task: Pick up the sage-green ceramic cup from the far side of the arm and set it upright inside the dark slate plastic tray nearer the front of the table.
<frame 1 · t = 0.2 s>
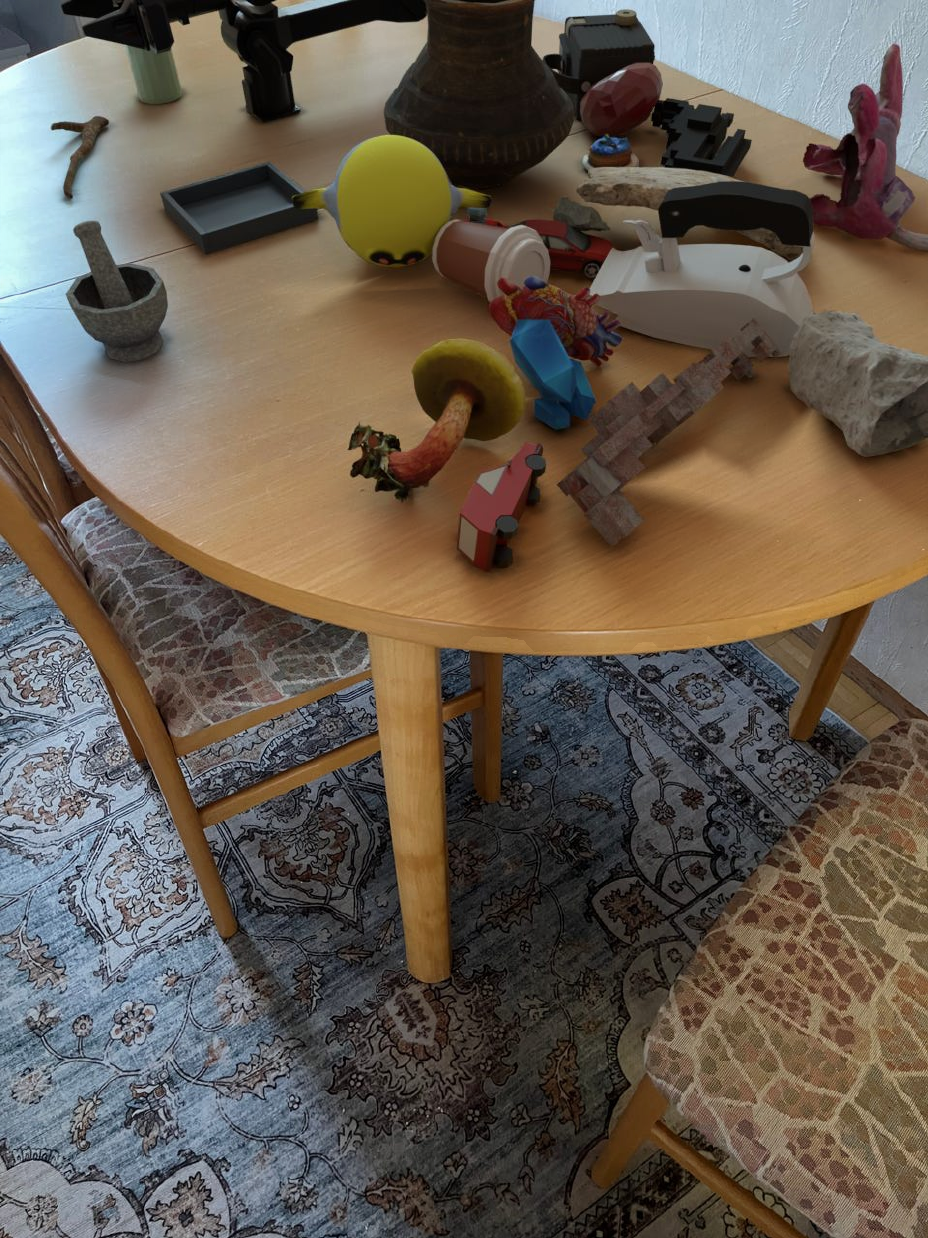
hand: (72, 19, 118), 17 cm above the table, tool horizontal, fingers open, 9 cm apart
stone: (559, 202, 107), point 6 cm above the table, touching stone fragment, toy car
coffee cup: (451, 248, 105), point 3 cm above the table
stone fragment: (678, 184, 116), point 3 cm above the table, touching stone
toy 2: (387, 234, 113), point 1 cm above the table
mortar and pestle: (132, 343, 100), on the table
tray: (241, 215, 118), on the table
button: (476, 200, 109), point 5 cm above the table
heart: (617, 118, 125), point 4 cm above the table
tool: (687, 163, 126), on the table
anatomical model: (505, 269, 86), point 11 cm above the table, touching crystal
toy car: (551, 269, 108), on the table, touching stone
sculpture: (753, 347, 92), point 3 cm above the table
toy: (818, 133, 109), point 9 cm above the table
mushroom: (420, 483, 77), point 5 cm above the table
cup: (160, 95, 144), on the table
dessert: (614, 182, 125), on the table
seashell: (411, 202, 111), point 4 cm above the table, touching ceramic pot
branch: (89, 160, 130), on the table
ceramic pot: (478, 176, 124), on the table, touching seashell
camera: (643, 59, 136), point 5 cm above the table
toy truck: (532, 512, 78), point 2 cm above the table
iron: (702, 321, 101), on the table
crystal: (580, 420, 86), point 2 cm above the table, touching anatomical model
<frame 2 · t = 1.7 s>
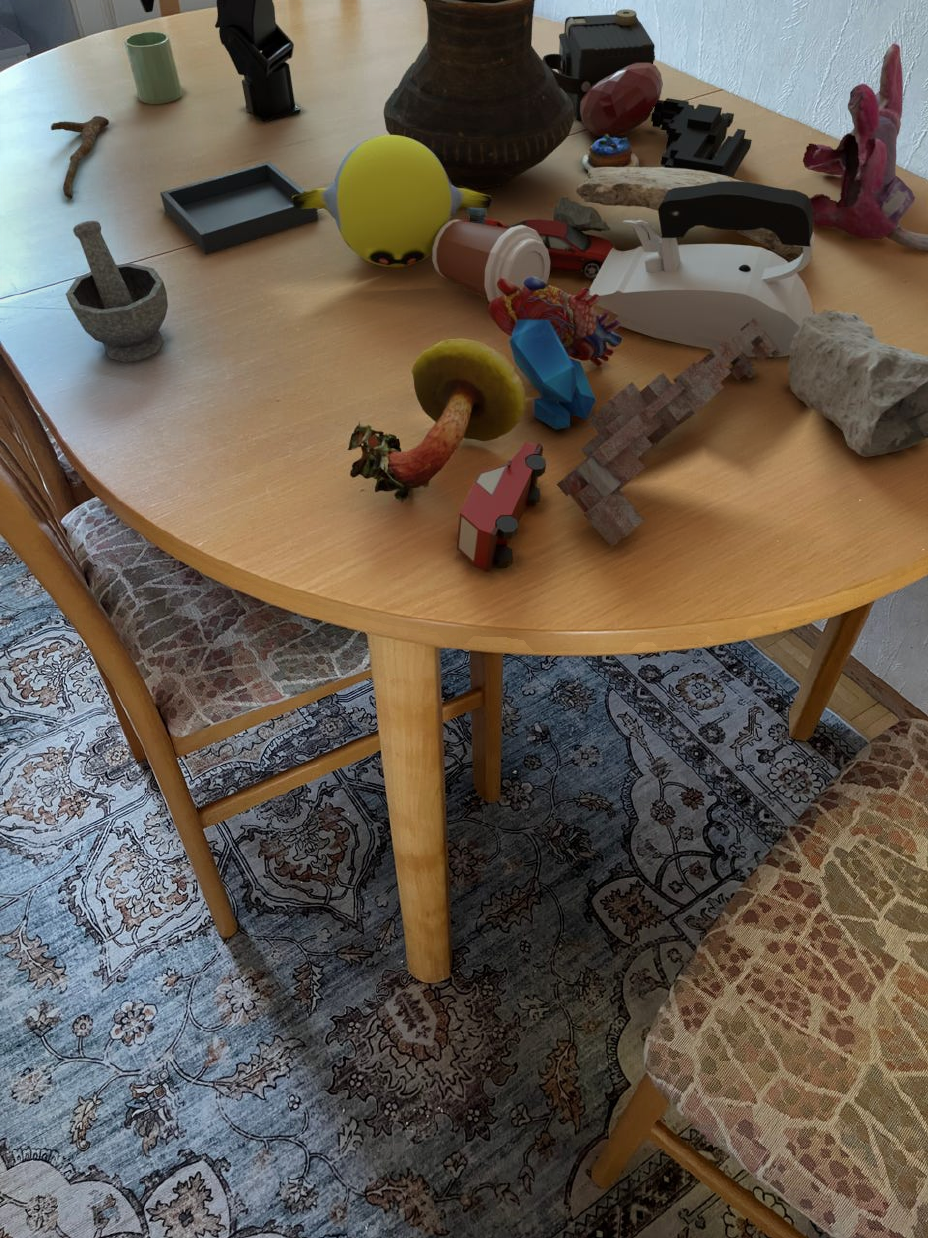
hand: (137, 3, 134), 13 cm above the table, tool pointing down, fingers open, 9 cm apart
nothing on the table moved.
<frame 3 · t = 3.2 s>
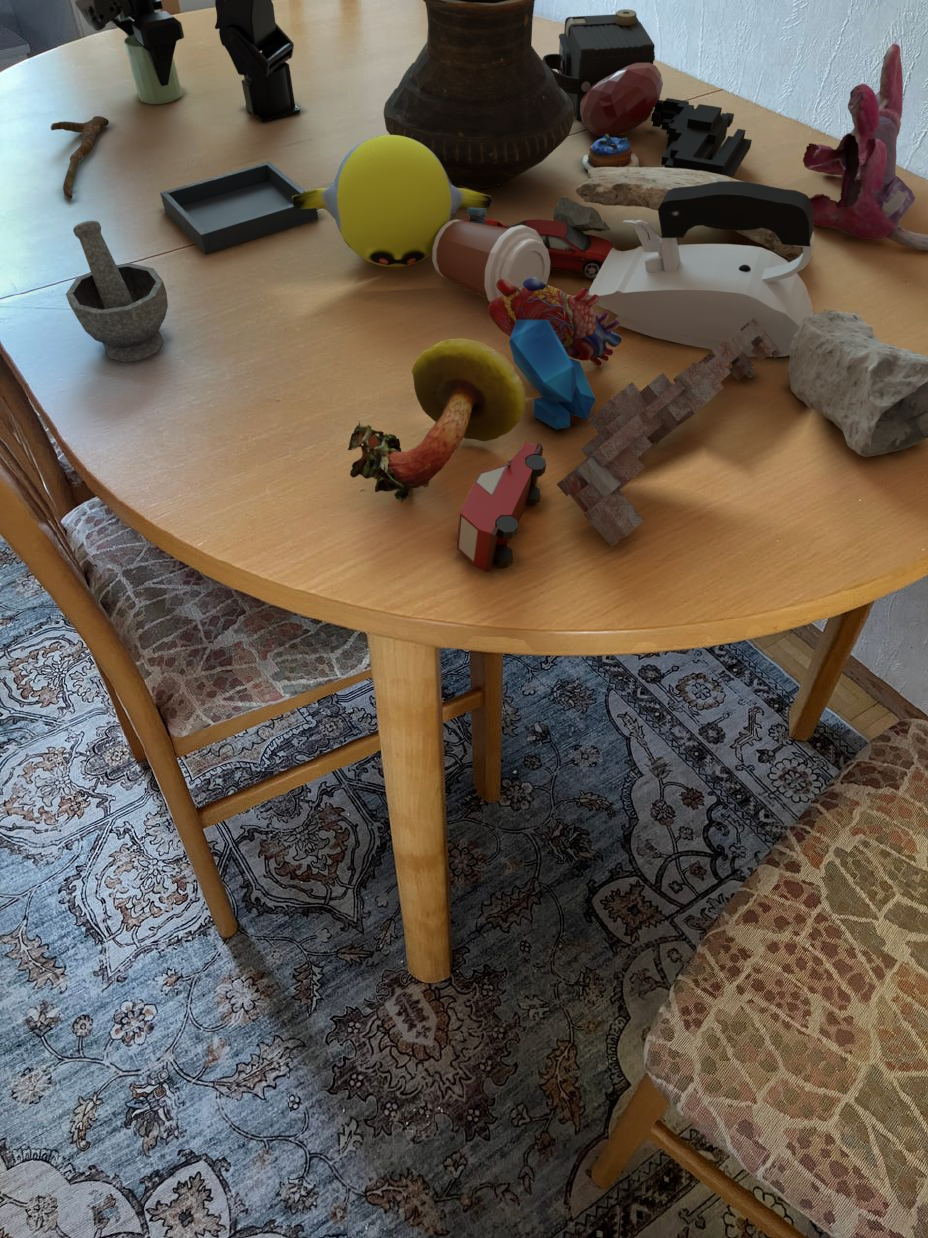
hand: (156, 78, 142), 3 cm above the table, tool pointing down, fingers closed on cup, 6 cm apart
cup: (160, 95, 144), on the table, touching gripper
everything else where it was.
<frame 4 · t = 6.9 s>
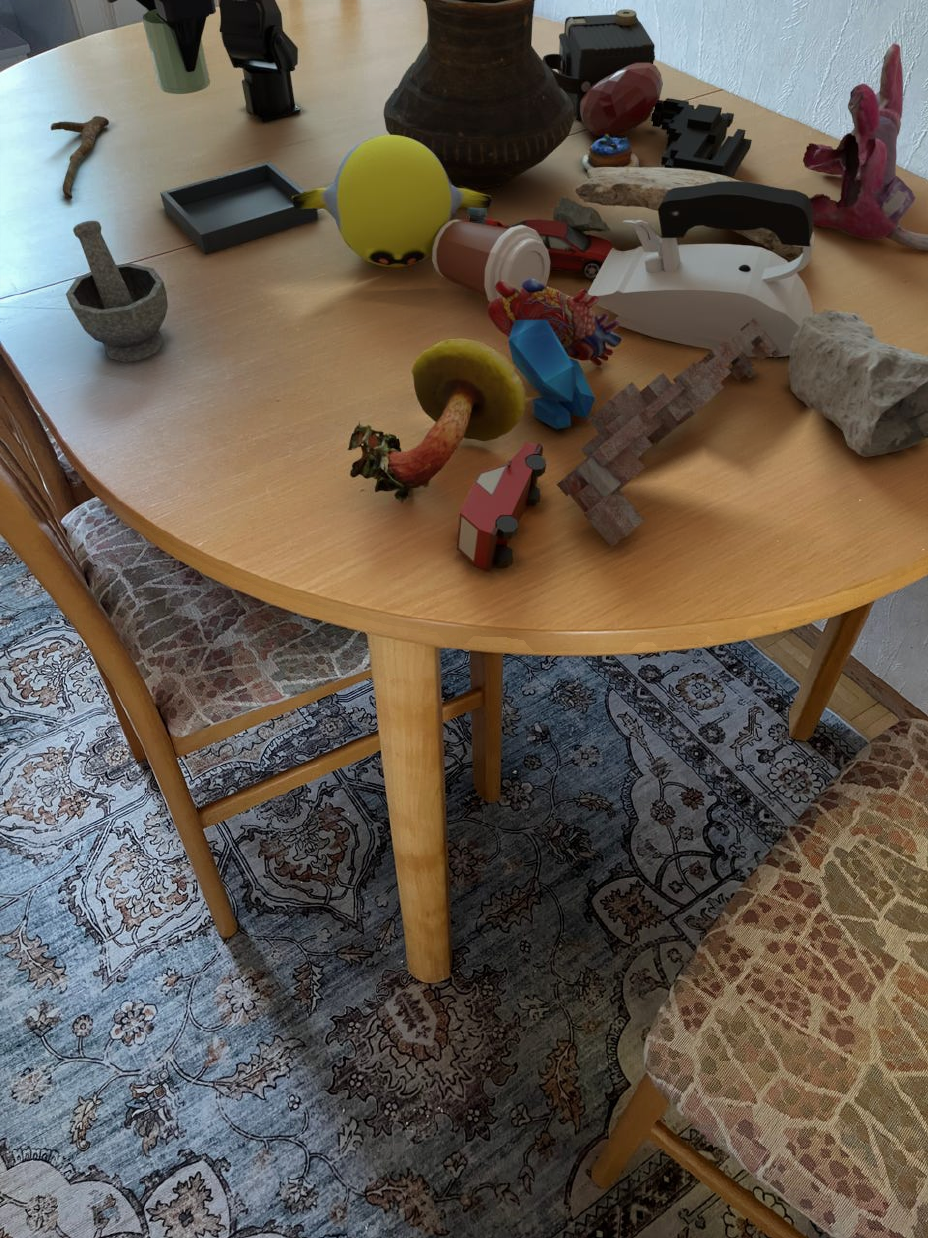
hand: (181, 62, 118), 13 cm above the table, tool pointing down, fingers closed on cup, 6 cm apart
stone: (560, 202, 107), point 6 cm above the table, touching stone fragment, toy car
cup: (185, 84, 120), point 10 cm above the table, touching gripper
everything else where it was.
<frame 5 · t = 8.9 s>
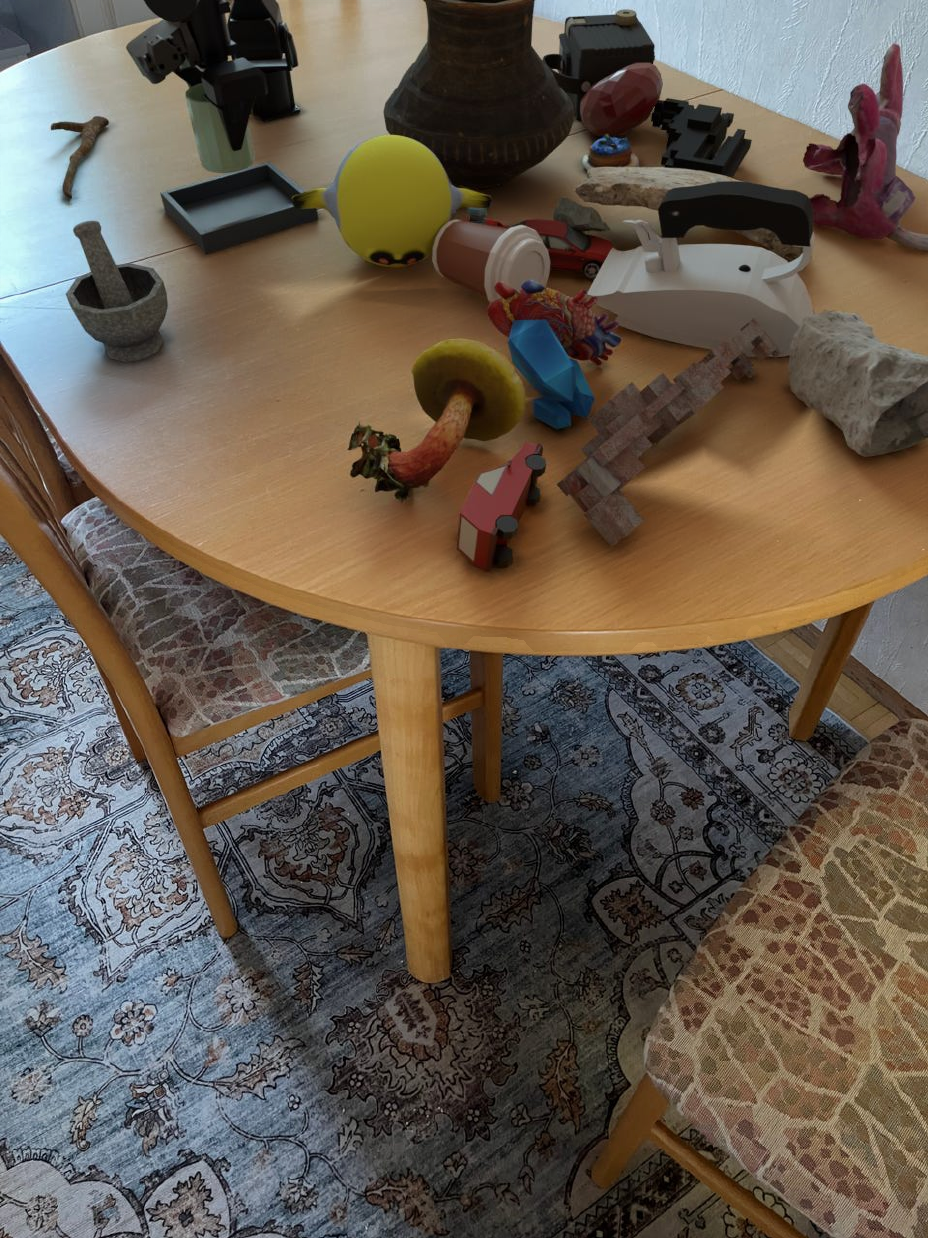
hand: (225, 139, 111), 9 cm above the table, tool pointing down, fingers closed on cup, 6 cm apart
stone: (560, 202, 107), point 6 cm above the table, touching stone fragment, toy car
cup: (228, 161, 113), point 7 cm above the table, touching gripper
everything else where it was.
when the fingers open (3 cm above the table, at t = 10.9 s): cup stays where it is, resting on tray.
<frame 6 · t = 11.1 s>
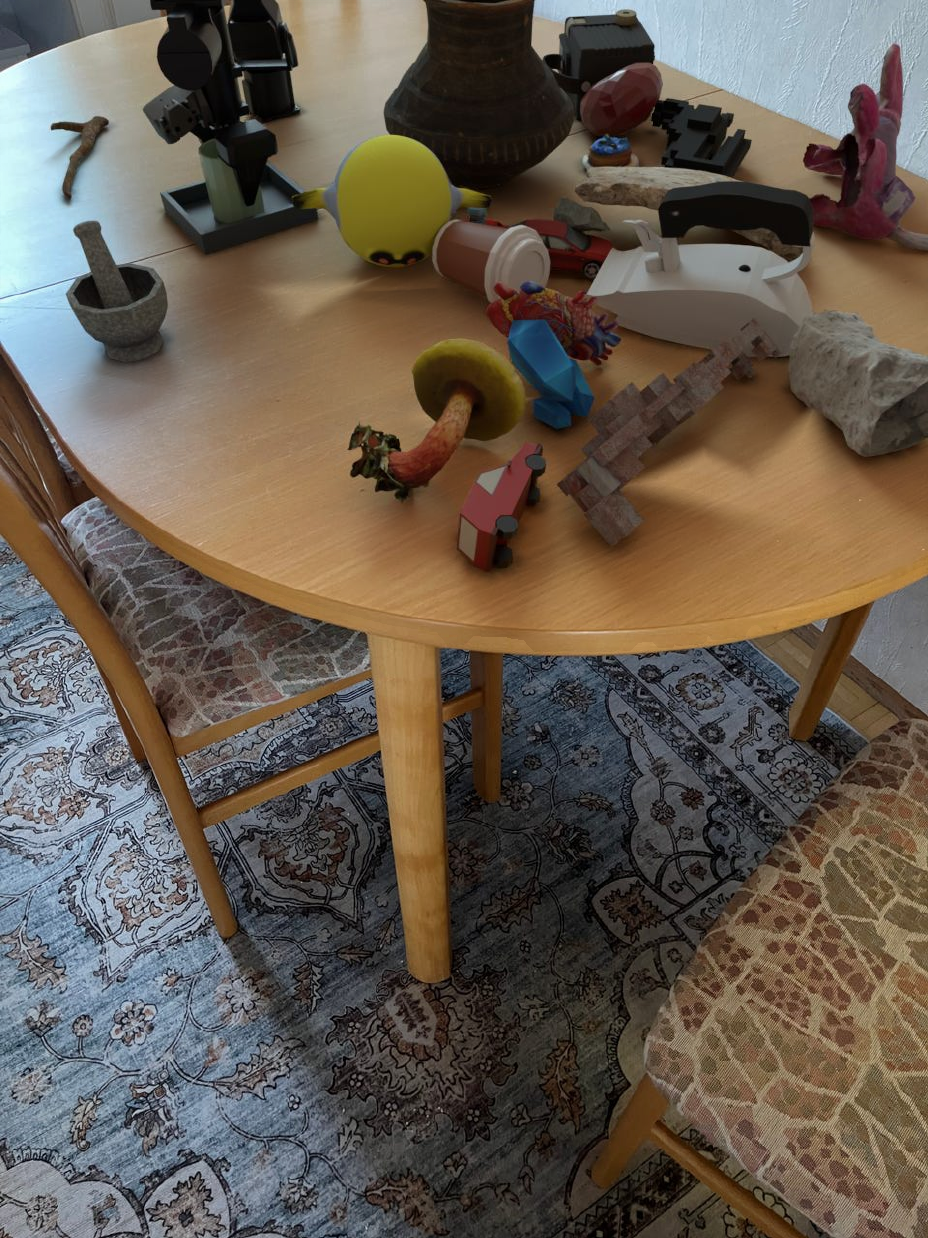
hand: (236, 192, 116), 3 cm above the table, tool pointing down, fingers open, 8 cm apart
cup: (239, 211, 118), resting on tray
everything else where it was.
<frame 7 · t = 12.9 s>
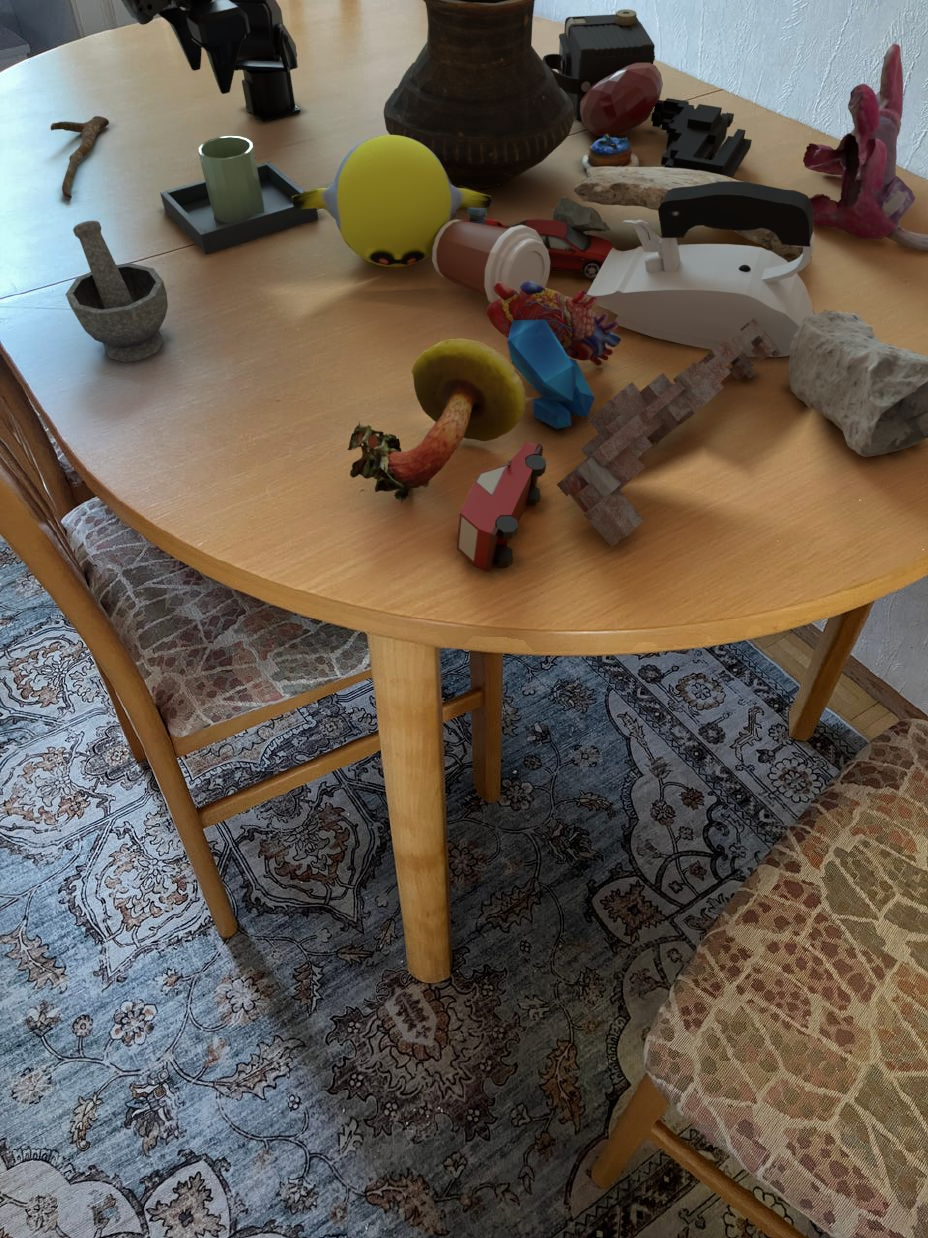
hand: (210, 80, 117), 12 cm above the table, tool pointing down, fingers open, 9 cm apart
nothing on the table moved.
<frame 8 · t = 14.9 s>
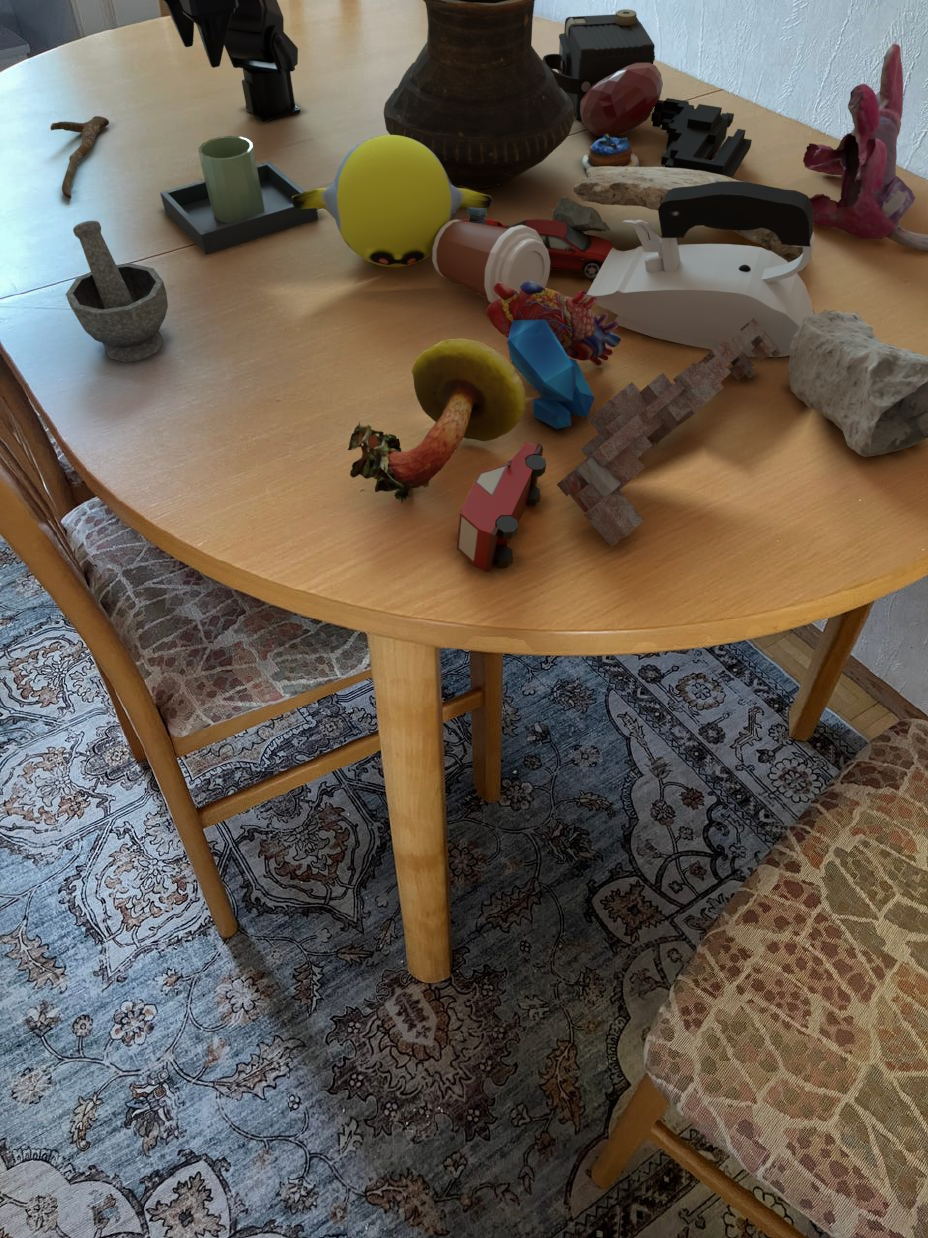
hand: (201, 56, 122), 12 cm above the table, tool pointing down, fingers open, 9 cm apart
button: (476, 200, 109), point 5 cm above the table, touching toy car
toy car: (551, 269, 108), on the table, touching button, stone
everything else where it was.
at the end: cup inside the target area in the tray (0.1 cm from its centre), point 0.5 cm above the tray's base; cup tilted 0°; the gripper is holding nothing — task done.
